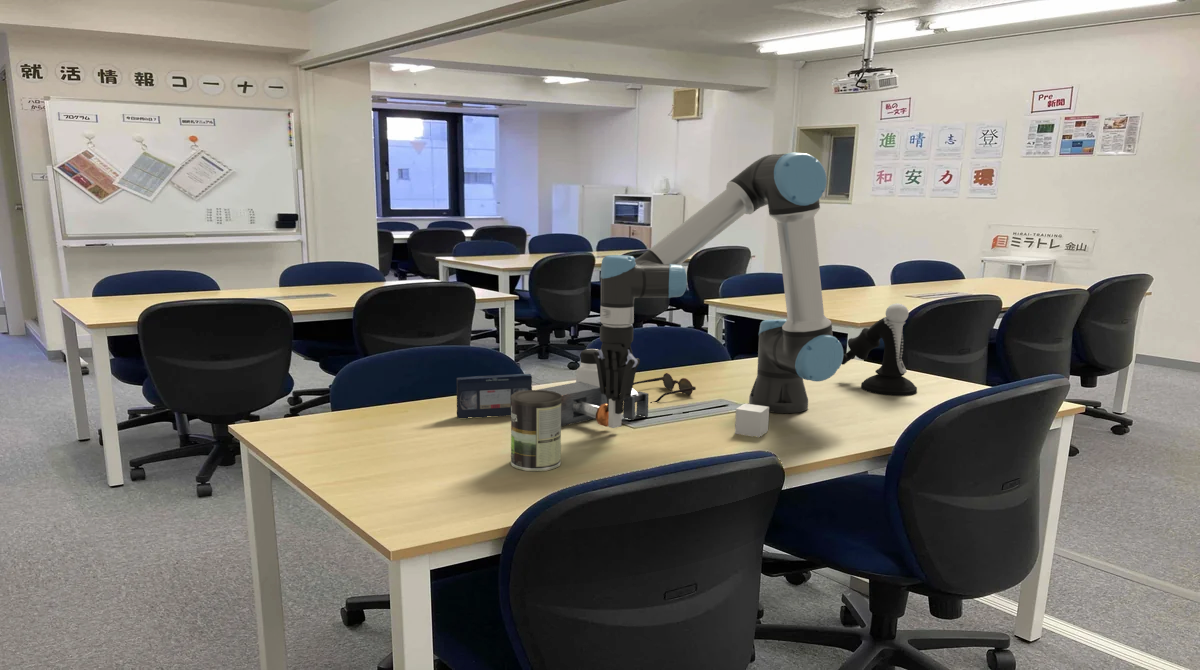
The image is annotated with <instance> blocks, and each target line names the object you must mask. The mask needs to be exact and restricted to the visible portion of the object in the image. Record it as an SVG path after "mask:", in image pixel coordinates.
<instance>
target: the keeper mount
mask: <svg viewBox="0 0 1200 670" xmlns="http://www.w3.org/2000/svg"><path fill="white" fill-rule="evenodd" d="M636 392H637V393H642V394H643V397H644V399H643V401H640V402H635V396H632V395H631V397H629V398H625V399H624V401H623V413H622V414H623V415H622V418H623V417H624V418H628V419H631V420H633V419H635V420H636V416H637V415H641V416H645V417H646V416H648V417H649V393H648V392H643V391H636ZM604 403H607V397H606V395H605V394H601V405H602V404H604ZM636 414H637V415H636Z"/></svg>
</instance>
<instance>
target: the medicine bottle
mask: <svg viewBox="0 0 1200 670" xmlns="http://www.w3.org/2000/svg"><path fill="white" fill-rule="evenodd" d="M599 350H600V349H598V348H597V349H596V348H587V349H583V350H581V351H580V365H579V367H578V368H577V369H576V370H575V372H576V373H575V382H583V383H587V384H591V385H595V386H598V387H600V385H599V378H598V371H597V365H596V361H595V358H594V356H593V353H594V352H597V351H599ZM605 388H606V387H605Z"/></svg>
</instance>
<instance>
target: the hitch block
mask: <svg viewBox="0 0 1200 670" xmlns="http://www.w3.org/2000/svg"><path fill="white" fill-rule="evenodd" d="M537 390H546V391H552V392H556V393H559V394H560V395H562V401H561V427H564V425H565V426H569V424H570V425H573V423H574V424H577V423H582V422H586V420H587V421H590V419H591V420H596V418H594V417H590V416H587V415H584V414H581V413H577V412H574V411H573V400H574V399H575V400H578V401H582V402H585V403H589V404H592V405H595V406H600V405H601V392H600V387H598V386H595V385H591V384H587V383H583V382H576V381H575V382H571V383H570V382H569V383H566V384H561V385H555V386H550V387H543V388H539V389H537Z"/></svg>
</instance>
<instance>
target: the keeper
mask: <svg viewBox="0 0 1200 670" xmlns="http://www.w3.org/2000/svg"><path fill="white" fill-rule="evenodd" d="M637 392H638V391H637V390H635V389H634V388H632V392H631V395H632V396H635V403H637V402H640V401H643V399H644V397H643V394H642V393H637Z"/></svg>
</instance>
